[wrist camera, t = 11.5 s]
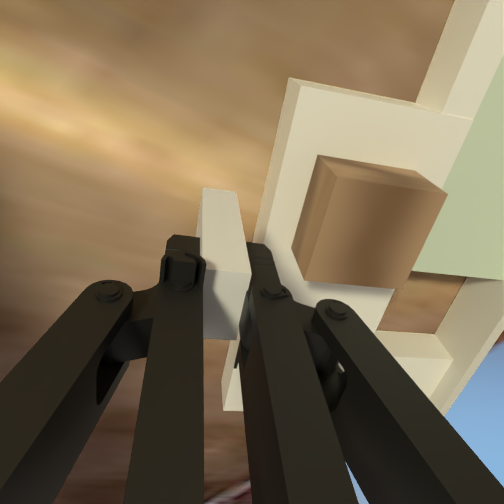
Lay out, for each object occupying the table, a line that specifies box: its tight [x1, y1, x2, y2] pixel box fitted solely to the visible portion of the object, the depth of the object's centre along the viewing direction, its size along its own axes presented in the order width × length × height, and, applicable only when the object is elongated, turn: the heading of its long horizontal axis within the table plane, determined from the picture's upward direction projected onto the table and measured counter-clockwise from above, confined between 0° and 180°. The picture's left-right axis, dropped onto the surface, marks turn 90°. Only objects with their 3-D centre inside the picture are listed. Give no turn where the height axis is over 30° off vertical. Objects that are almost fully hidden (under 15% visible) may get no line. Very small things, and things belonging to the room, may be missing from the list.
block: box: [291, 155, 448, 290], centre depth 22 cm, size 6×6×4 cm
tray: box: [221, 0, 504, 416], centre depth 24 cm, size 19×41×4 cm, turn 169°
